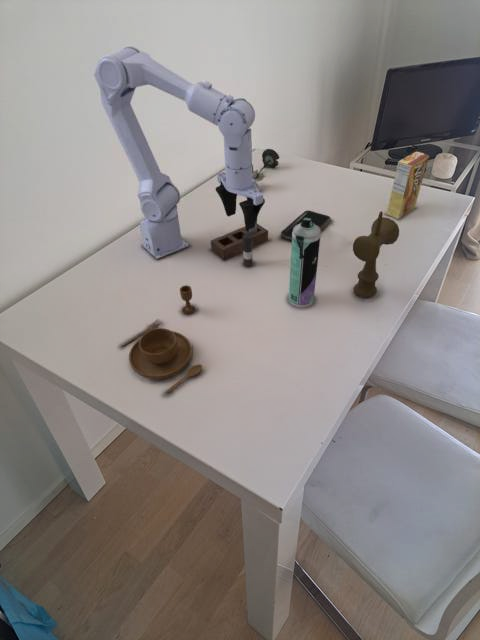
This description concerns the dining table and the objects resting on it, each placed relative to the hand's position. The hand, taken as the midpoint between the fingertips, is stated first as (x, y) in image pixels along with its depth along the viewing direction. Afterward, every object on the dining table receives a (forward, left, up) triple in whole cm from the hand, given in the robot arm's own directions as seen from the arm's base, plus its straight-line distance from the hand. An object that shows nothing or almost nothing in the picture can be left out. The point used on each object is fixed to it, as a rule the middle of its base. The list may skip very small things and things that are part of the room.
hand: (240, 221), depth 100 cm
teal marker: (+7, +5, -10) cm, 14 cm away
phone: (+22, 0, -10) cm, 24 cm away
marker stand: (+3, +5, -10) cm, 12 cm away
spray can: (+1, -21, -11) cm, 24 cm away
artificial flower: (+30, +31, -11) cm, 45 cm away
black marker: (0, -3, -10) cm, 11 cm away
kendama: (+13, -28, -11) cm, 33 cm away
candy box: (+49, -10, -11) cm, 51 cm away
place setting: (-28, -17, -11) cm, 34 cm away
